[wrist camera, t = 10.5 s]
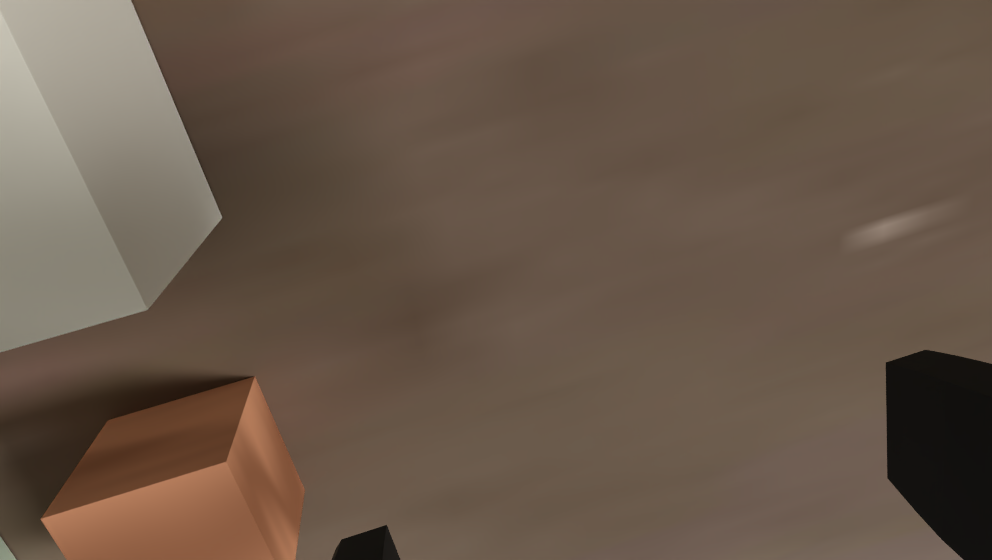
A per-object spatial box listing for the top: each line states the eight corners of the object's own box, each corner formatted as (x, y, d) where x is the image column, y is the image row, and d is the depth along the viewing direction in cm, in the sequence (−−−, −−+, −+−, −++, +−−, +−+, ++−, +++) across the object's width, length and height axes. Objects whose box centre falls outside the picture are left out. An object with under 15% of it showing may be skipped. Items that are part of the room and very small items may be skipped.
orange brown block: (304, 488, 20) (290, 593, 16) (170, 530, 19) (123, 648, 16) (255, 375, 18) (226, 461, 14) (108, 418, 18) (40, 518, 14)
